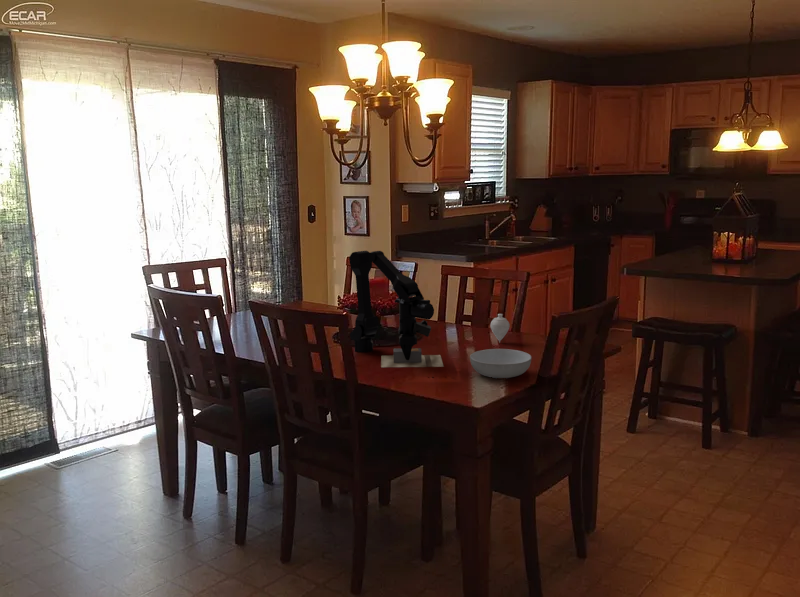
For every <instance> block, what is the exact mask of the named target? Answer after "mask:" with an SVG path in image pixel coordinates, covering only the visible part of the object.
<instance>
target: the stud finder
mask: <svg viewBox="0 0 800 597" xmlns="http://www.w3.org/2000/svg"><path fill="white" fill-rule="evenodd" d="M393 355H394V363H419V362H422V355H423V354H422V347H421V348H420V347H417V348H415V347H412V349H411V354H410V359H409V360H406V358H405V356H404V353H403V351H402V349H401V347H400V348H393Z"/></svg>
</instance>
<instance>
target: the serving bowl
mask: <svg viewBox="0 0 800 597" xmlns="http://www.w3.org/2000/svg"><path fill="white" fill-rule="evenodd" d="M532 358H533V357H532V355H531V354H529V353H527V352H526V351H525V352H524V351H522V350H519V349H518V350H517V349H508V348H489V349H483V350H482V349H481V350H477V351H474V352H473V353H471V354H470V355H469V360H470V364H471V366H472V369H473V370H474V371H475V372H477V374H480V375H482V376H483V377H484V376H485V377H489V378H491V377H492V378H493V379H497V378H506V379H510V378H514V377H518V376H521V375H522V374H524V373H526V372H527V370H528V369H529V368H530V366H531V363H532ZM492 378H491V379H492Z"/></svg>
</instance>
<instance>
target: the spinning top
mask: <svg viewBox="0 0 800 597" xmlns="http://www.w3.org/2000/svg"><path fill="white" fill-rule="evenodd" d="M503 315H504V314H503V313H498V314H497V317H494V318H493V319H492V320H491V322H490V330H491V331H492V333H493V335H494V336H495V338H496V339H497V340H498V342H499V344H500V343H501V341H502V340H503V338H504V337H505V336H506V334H507V333H508V331H509V329H510V326H511V324H510V322H509V321H508V319H507V318H505V317H503Z"/></svg>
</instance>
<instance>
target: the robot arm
mask: <svg viewBox="0 0 800 597" xmlns="http://www.w3.org/2000/svg"><path fill="white" fill-rule="evenodd" d="M348 261H349V264H350V270H352V272H353V274H354V276H355V284H356V285H355V286H356V297H357V310H358V312H357V313H358V314H357V316H356V318H355V321H354V322H355V323H354V325H355V326H354V328H353V329H352V331H351V332H350V333H349V337H350V340H353V341H354V352H355V353H356V352H357V353H370V352H374V342H373V340H372V339H374V338H376V335H377V332H378V330H379V327H380V325H379V318H378V315H376V316H375V314H374V313H373V311H372V300H371V287H370V277H369V276H370V272H371V270H372V267H373V265H374V266H376V268H377V269H379V271H380V273H382V274H383V275H384V276H385V277H386V278H387V280H389V281H390V282H391V284H392V289H393V291H394V292H395V293H396V295H397V296H398V297H397V298H396V299H395V300H394V303H396V304H398V308H399V310H398V311H399V312H398V313H399V318H398V319H399V321H398V322H399V327H398V344H399V346H400V348H401V349H402V351H403V353H404V356H405V358H406V360H409V359H410V354H411V349H412V348H414V346H415V345H417V344H418V337H417V333H418V334H420V335H423V336H424V337H427V338H429V336H430V333H431V331H432V326H431V325H428V320H431V319H432V318H433V316H434V313H435V308H434V306H433V304H432V303H431V300H429V299H425V297H424V296H423V294H422V291H421V290H420V288H419V285H418V283H417V282H416V281H415V280H414V279H413V278H411V277H410V276H407V275H404V274H403V273H402V272H401V271H400V270H399V269H398V268H397V267H396V266H395V265H394V264H393V263H392V262H391V261H390V259H389V258H387V256H386V255H385V253H384V252H383V251H382V250H374V251H370V252H369V251H368V250H361V251H358V250H357V251H354V252H351V253H350V255H349V258H348ZM417 319H422V321H417Z"/></svg>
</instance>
